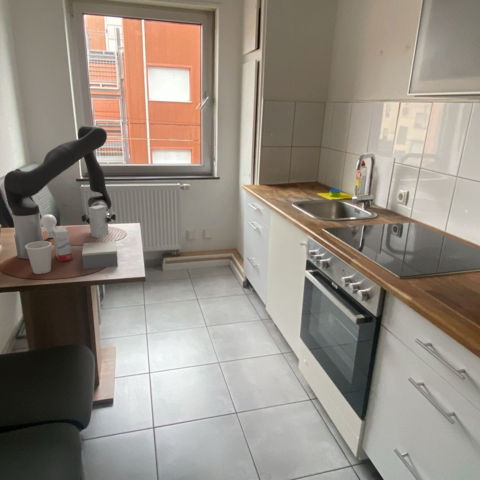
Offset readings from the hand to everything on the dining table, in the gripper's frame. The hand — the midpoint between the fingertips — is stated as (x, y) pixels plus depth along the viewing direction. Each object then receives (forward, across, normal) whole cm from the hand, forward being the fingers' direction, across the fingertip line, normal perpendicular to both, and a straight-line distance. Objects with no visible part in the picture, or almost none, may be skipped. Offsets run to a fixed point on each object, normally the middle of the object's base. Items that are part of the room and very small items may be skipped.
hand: (98, 220), depth 154 cm
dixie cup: (+17, -20, +14) cm, 29 cm away
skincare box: (-1, 0, +7) cm, 7 cm away
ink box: (+5, -14, +13) cm, 20 cm away
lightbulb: (-23, -22, +14) cm, 35 cm away
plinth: (+13, 0, +13) cm, 18 cm away
